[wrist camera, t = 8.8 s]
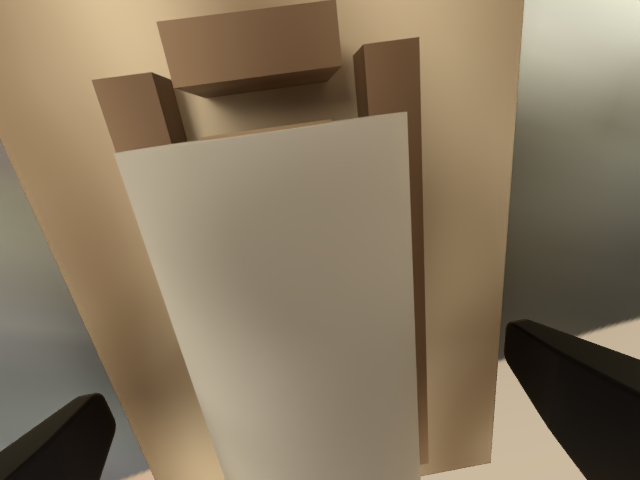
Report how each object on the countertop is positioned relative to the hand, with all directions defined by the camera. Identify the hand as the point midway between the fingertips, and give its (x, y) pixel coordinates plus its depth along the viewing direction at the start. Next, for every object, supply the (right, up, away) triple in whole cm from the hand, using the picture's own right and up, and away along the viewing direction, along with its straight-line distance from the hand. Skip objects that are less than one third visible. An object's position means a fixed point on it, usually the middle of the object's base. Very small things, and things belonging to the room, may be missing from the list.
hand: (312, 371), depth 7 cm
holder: (-1, +1, +4) cm, 4 cm away
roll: (0, +1, +3) cm, 3 cm away
